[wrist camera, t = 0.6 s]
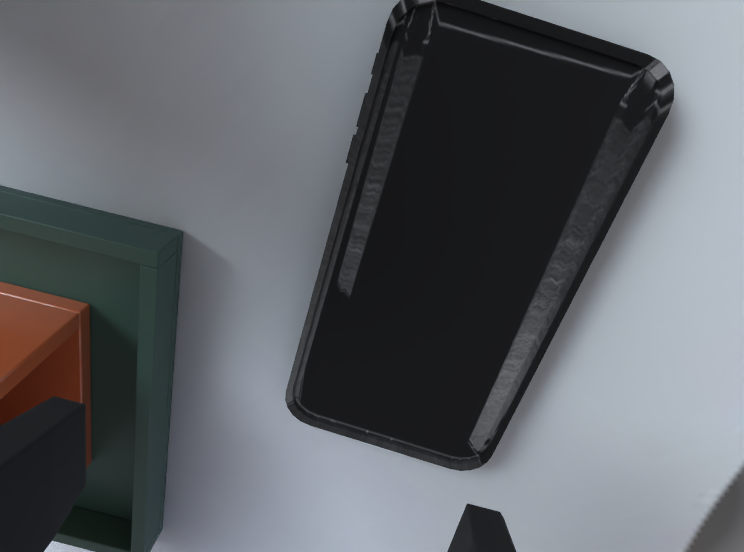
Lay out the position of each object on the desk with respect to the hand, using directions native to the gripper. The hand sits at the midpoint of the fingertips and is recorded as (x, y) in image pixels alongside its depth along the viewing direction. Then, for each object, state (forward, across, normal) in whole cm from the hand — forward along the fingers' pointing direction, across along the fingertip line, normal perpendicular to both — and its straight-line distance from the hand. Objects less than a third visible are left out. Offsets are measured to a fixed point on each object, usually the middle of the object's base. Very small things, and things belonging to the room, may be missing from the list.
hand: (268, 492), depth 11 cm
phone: (+10, -3, -1) cm, 11 cm away
